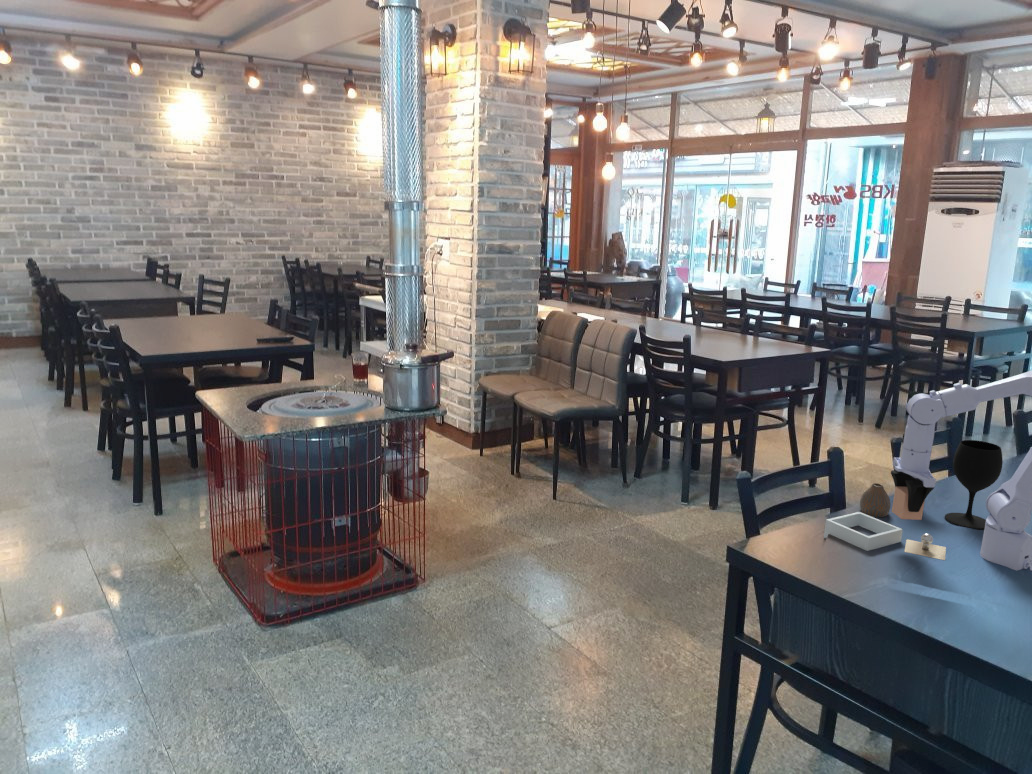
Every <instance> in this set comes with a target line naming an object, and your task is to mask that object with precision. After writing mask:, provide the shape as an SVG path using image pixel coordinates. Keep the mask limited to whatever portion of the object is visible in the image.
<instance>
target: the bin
mask: <svg viewBox="0 0 1032 774" xmlns="http://www.w3.org/2000/svg"><path fill="white" fill-rule="evenodd" d="M857 526H858V527H861V528H864V529H866V530H868V531H871V532H873V533H874V534H871V535H867V534H864V533H862V532H860V531H857V530H855V529H852V527H857ZM823 533H824V534H823V538H824V539H828V537H829V535H830V536H833V537H836V538H837V539H840V540H842V541H844V542H846V543H849V544H850V545H852V546H855V547H858V548H859V549H862V550H865V551H867V552H869V551H873V550H877V549H880V548H883V547H887V546H891V545H895V544H898V543H901V542H902V538H903V529H902V528H901V527H898V526H895V525H894V524H890V523H889V522H885V521H883V520H881V519H878V518H877V517H876V518H875V517H874V516H869V515H866V514H864V513H862V512H861V511H856V512H853V513H848V514H844V515H841V516H840V515H839V516H836V517H831V518H827V519H825V526H824V532H823Z"/></svg>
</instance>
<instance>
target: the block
mask: <svg viewBox="0 0 1032 774" xmlns="http://www.w3.org/2000/svg"><path fill="white" fill-rule="evenodd" d="M894 492H895V493H893V499H894V500H892V506H891V507H892V508H891V513H893V514H894V515H896V517H898V518H899V519H901V520H914V521H916V520H917V521H922V520H923V519H922V518H923V513H924V507H925V502H926V501H925V500H926V499H925V500H924V502H923V504H922V506H921V508H920V510H919V512H910V511H908V489H907V487H900V486H896V487H895V486H894Z"/></svg>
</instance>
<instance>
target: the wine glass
mask: <svg viewBox="0 0 1032 774" xmlns="http://www.w3.org/2000/svg"><path fill="white" fill-rule="evenodd" d="M1003 459H1004V458H1003V451H1002V448H1001V446H1000V445H998V444H995V443H992V442H988V441H983V440H976V439H975V440H974V439H964V440H961V441H960V442H959V444H958V445H957V448H956V450H955V453H954V456H953V460H952V468H953V473H954V475H955V477H956V479H957V480H958V482H959V483H960V484H961V485H962V486H963V487H964V488H965V489H966V490H967V491H968V503H967V508H966V512H965V513H964V512H948V513H946V514H944V516H943V518H944V520H945V521H946V522H948V523H949V524H952V525H953V526H956V527H961V528H967V529H971V530H977V531H984V529H985V523H986V519H987V518H984V517H982V516H979V515H974V514H973V506H974V505H973V504H974V502H975V501H974V500H975V496H976V494H977V493H978V492H980V491H982V490H985V489H987V488H989V487H990V486H992V485H993V484H994V483H996V481H997V480H998V479H999V477H1000V475H1001V473H1002V468H1003Z"/></svg>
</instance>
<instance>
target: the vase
mask: <svg viewBox="0 0 1032 774" xmlns="http://www.w3.org/2000/svg"><path fill="white" fill-rule="evenodd" d="M859 509H860V512H861V513H864V514H866V515H869V516H871V517H874V518H875V517H876V518H885V517H887V516H888V514H889V513H890V511H891V499H890V495H888V492H887V491H886V490H885V487H884V485H883V484H881V483H876V482H875V483H872V484H871V485H870V487H869V488H868V489H866V490H865V491H864V492H863V493H862V496H861V497H860V502H859Z"/></svg>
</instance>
